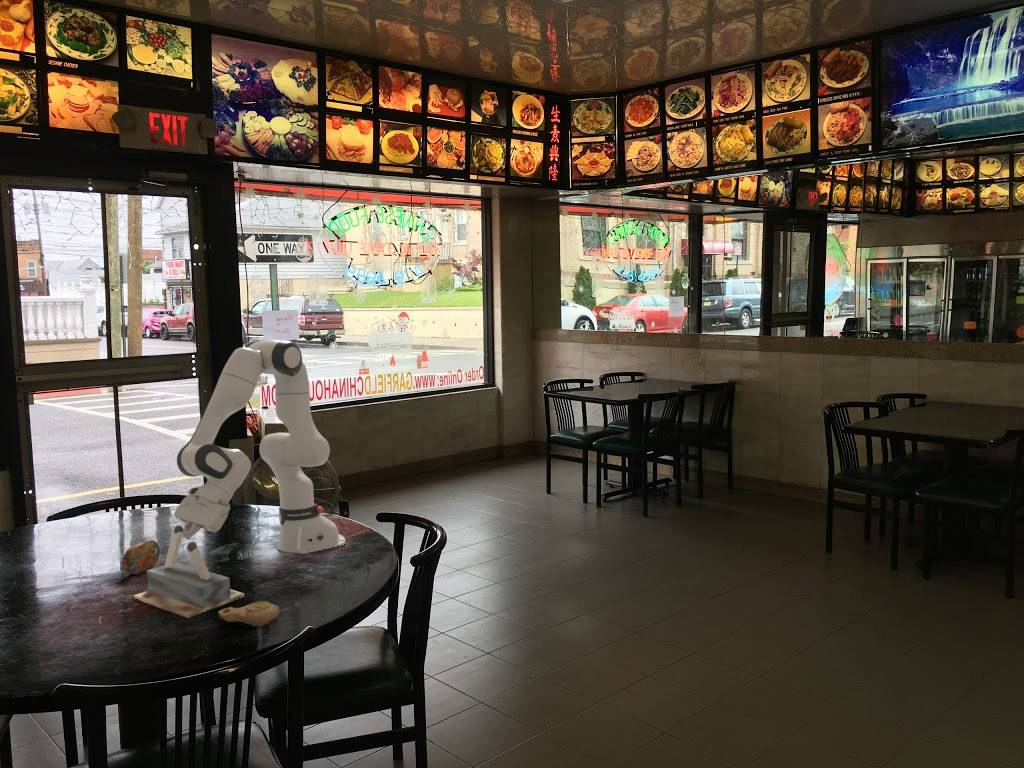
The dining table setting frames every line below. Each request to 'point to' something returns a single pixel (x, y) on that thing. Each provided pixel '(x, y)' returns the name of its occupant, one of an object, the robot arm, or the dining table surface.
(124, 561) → the tin
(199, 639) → the dining table surface
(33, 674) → the dining table surface
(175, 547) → the lever
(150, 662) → the dining table surface
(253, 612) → the oil lamp
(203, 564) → the lever
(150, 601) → the switch box
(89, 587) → the dining table surface
